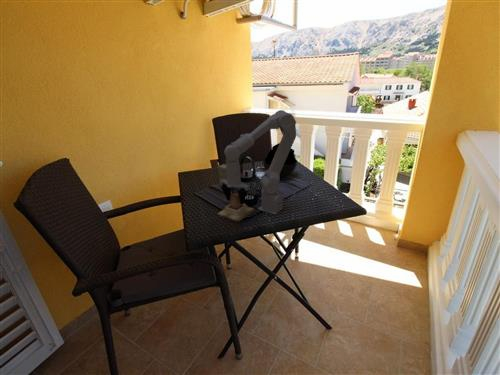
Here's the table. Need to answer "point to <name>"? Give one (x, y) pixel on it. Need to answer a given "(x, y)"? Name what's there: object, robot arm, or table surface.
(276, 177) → the robot arm
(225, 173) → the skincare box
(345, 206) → the table surface
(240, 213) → the socket holder
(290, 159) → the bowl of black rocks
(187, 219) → the table surface
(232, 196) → the peg
